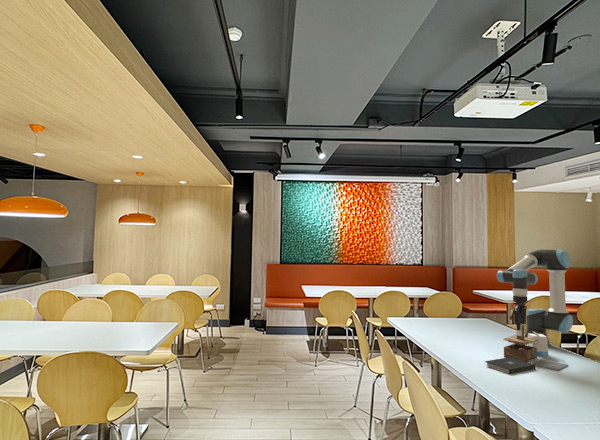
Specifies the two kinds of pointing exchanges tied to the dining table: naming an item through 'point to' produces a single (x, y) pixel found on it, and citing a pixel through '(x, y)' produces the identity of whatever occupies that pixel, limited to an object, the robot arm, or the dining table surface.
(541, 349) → the ink box
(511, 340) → the lid
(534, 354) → the crate
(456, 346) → the dining table surface
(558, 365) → the mat
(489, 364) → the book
